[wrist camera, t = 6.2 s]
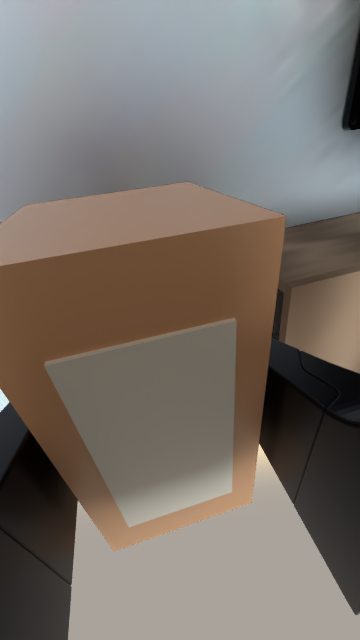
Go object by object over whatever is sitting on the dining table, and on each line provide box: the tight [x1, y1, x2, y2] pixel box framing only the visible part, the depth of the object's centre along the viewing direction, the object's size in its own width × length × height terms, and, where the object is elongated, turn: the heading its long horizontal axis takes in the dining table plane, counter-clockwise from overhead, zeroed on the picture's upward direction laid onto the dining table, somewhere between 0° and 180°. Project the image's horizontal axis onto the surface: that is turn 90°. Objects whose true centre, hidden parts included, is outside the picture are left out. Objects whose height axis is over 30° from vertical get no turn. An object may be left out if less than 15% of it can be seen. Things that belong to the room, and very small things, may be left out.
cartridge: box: [0, 182, 286, 551], centre depth 8 cm, size 9×4×5 cm, turn 6°
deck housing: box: [278, 213, 360, 373], centre depth 22 cm, size 14×15×8 cm
